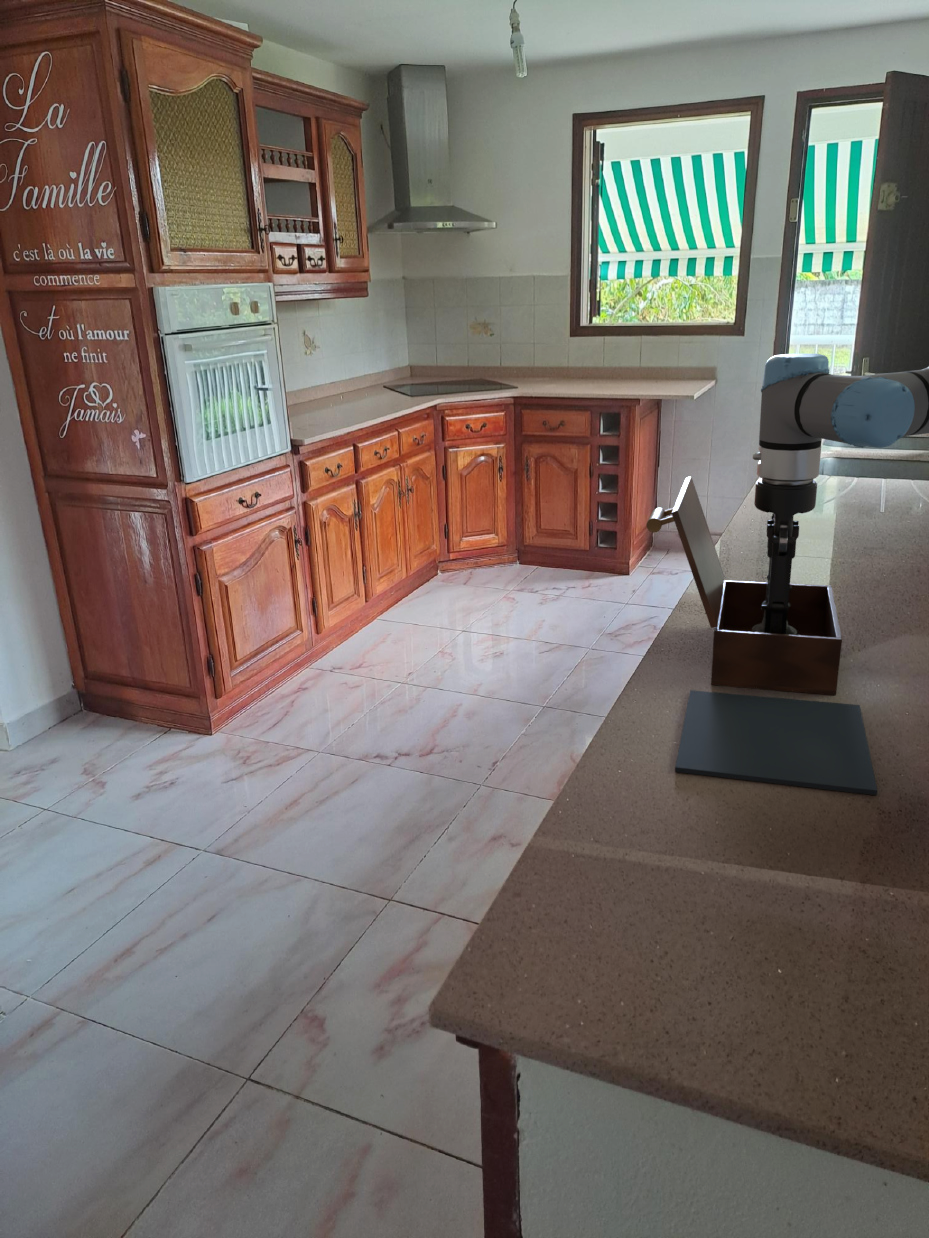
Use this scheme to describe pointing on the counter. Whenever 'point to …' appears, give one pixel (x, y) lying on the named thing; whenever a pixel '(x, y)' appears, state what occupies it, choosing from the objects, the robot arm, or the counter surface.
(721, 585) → the bread box lid
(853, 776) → the mat
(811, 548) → the counter surface
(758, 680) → the bread box
